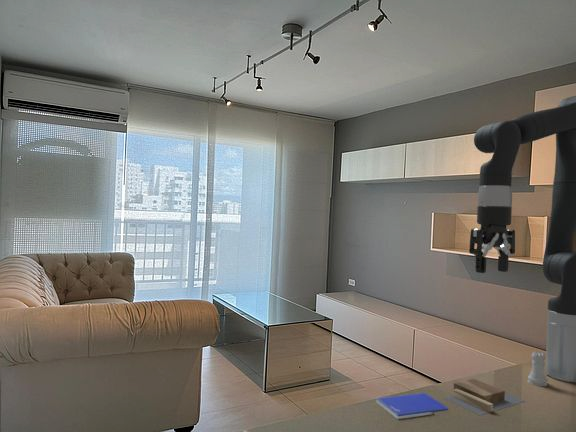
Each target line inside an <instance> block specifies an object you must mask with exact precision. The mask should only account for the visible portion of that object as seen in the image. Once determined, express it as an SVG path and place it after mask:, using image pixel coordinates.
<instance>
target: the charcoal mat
mask: <svg viewBox="0 0 576 432" xmlns="http://www.w3.org/2000/svg"><path fill="white" fill-rule="evenodd" d="M444 400H446V401H449V402H450V403H452V404H455V405H457V406H458V407H462V408H463V409H465V410H468V411H469V412H472V413H474V414H476V415H479V416H482V415H486V414H488V413H490V412H486V411H484V410H482V409H480V408H478V407H475V406H473V405H471V404H469V403H467V402H464V401H462V400H460V399H458V398H455V397H453V395H452V396H448V397H444ZM525 402H526V400H524V399H522V398H519V397H518V396H517V397H516V396H514V395H511V394H509V393H506V392H505V399H504V400H502V401H499V402H495V403H492V404H493V411H492V412H495V411H500V410H502V409H506V408H509V407H511V406H514V405H518V404H522V403H525ZM492 412H491V413H492Z"/></svg>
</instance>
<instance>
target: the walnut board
mask: <svg viewBox="0 0 576 432" xmlns="http://www.w3.org/2000/svg"><path fill="white" fill-rule="evenodd" d="M453 389H459V390H462V391H464V392H466V393H469V394H471V395H473V396H476V397H478V398H480V399H483V400H485V401H487V402H490V403H495V402H499V401H502V400H504V399H505V393H506V392H505V391H506V390H503V389H500V388H498V387H495V386H493V385H491V384H487V383H486V382H483V381H481V380H479V379H475V378H471V379H466V380H462V381H458V382H454V383H453Z"/></svg>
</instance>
